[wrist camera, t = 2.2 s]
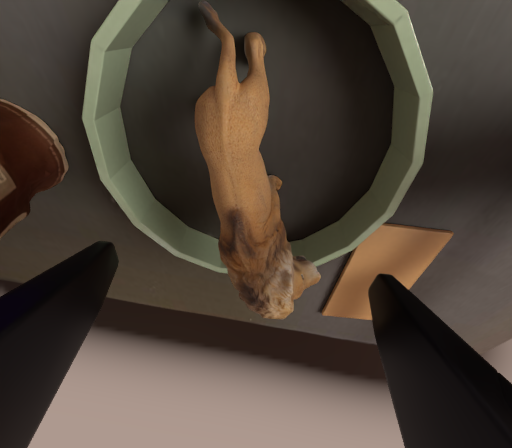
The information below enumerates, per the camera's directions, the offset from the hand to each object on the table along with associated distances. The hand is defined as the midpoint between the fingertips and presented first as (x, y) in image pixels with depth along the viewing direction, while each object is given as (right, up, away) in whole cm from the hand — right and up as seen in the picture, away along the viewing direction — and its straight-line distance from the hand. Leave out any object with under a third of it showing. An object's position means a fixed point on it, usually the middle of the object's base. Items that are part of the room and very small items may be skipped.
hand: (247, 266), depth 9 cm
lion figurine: (0, +6, +8) cm, 11 cm away
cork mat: (+12, -4, +16) cm, 20 cm away
